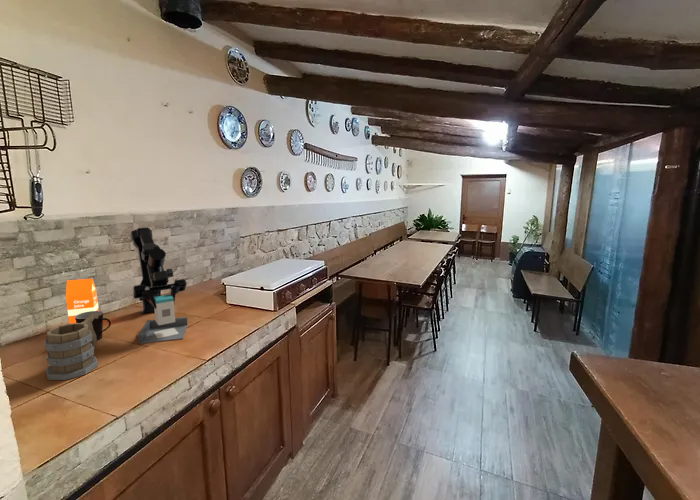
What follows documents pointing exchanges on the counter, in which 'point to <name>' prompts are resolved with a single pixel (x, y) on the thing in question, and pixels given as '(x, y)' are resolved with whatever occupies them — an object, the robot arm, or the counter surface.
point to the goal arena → (163, 331)
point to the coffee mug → (94, 322)
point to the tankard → (71, 349)
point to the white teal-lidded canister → (164, 309)
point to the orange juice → (80, 297)
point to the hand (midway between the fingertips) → (164, 306)
